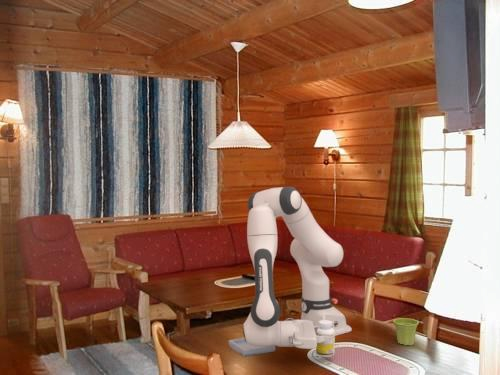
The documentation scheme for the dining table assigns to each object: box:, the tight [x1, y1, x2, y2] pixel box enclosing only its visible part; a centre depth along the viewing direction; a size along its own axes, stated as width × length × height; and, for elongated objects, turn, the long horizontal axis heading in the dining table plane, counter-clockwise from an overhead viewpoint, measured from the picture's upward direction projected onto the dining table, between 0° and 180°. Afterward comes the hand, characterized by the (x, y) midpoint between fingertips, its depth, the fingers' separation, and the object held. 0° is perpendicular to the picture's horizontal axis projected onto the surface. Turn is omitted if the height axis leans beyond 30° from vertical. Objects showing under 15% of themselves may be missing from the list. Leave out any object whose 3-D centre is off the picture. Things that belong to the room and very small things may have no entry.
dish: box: [228, 337, 276, 358], centre depth 204 cm, size 13×13×2 cm
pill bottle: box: [315, 320, 336, 358], centre depth 191 cm, size 6×6×12 cm
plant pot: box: [393, 317, 419, 346], centre depth 210 cm, size 9×9×9 cm
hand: (327, 334), depth 191 cm, fingers closed on pill bottle, 6 cm apart
